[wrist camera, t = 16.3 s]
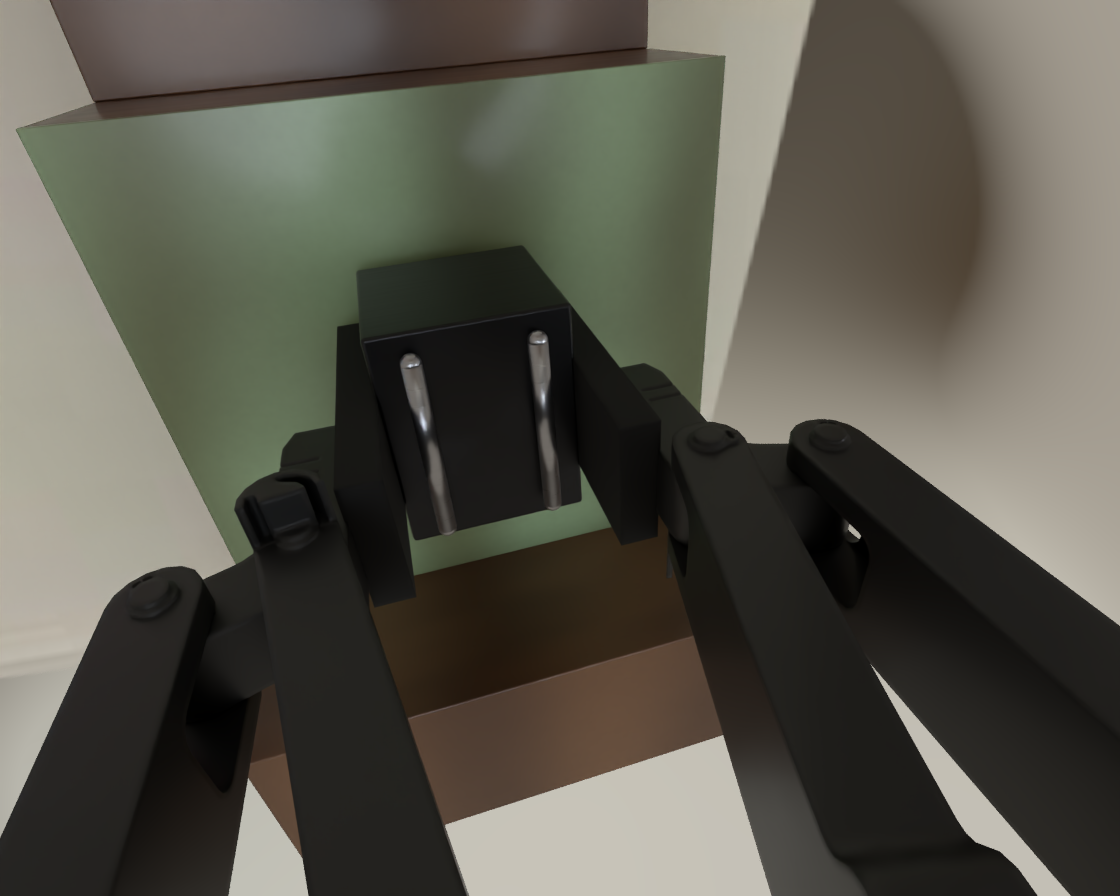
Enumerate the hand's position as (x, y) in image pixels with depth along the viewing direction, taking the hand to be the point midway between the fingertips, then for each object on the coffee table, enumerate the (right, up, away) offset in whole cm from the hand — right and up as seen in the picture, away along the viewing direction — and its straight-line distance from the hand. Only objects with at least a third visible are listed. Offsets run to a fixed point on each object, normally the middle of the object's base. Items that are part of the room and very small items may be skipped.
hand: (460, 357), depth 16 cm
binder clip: (0, 0, 0) cm, 0 cm away
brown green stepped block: (-2, +4, +8) cm, 9 cm away
